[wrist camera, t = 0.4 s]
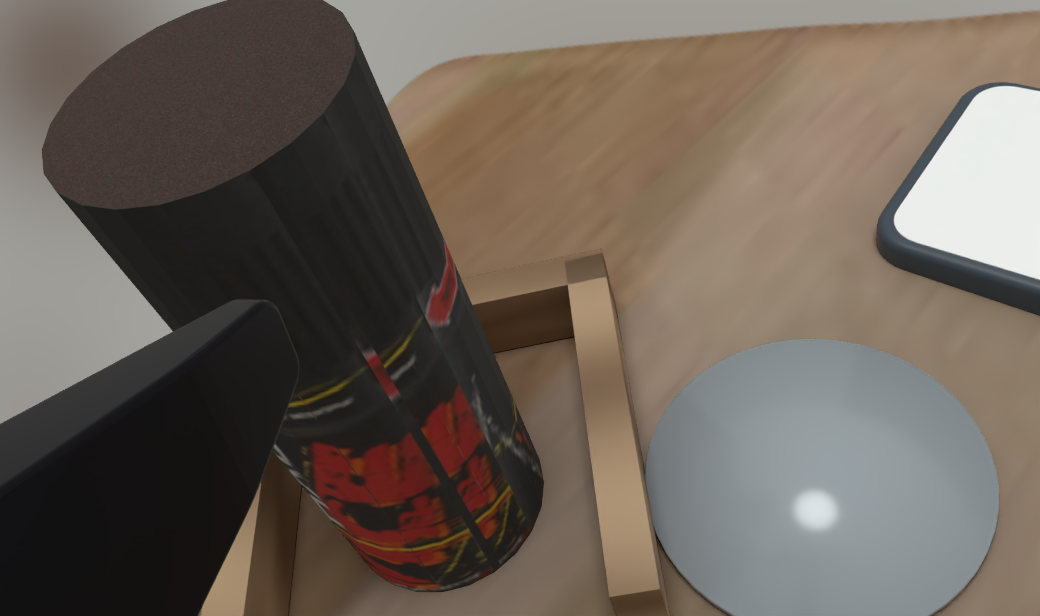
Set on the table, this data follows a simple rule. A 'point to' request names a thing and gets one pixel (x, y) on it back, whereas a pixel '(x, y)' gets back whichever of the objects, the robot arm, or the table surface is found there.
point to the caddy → (610, 426)
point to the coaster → (821, 484)
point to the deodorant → (310, 270)
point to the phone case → (975, 200)
